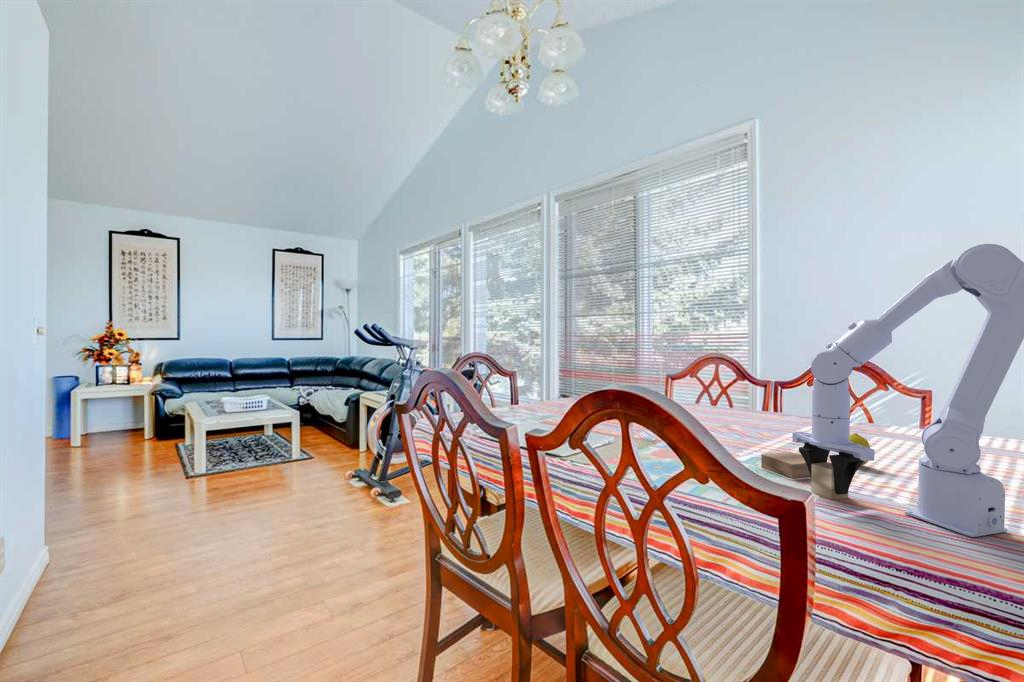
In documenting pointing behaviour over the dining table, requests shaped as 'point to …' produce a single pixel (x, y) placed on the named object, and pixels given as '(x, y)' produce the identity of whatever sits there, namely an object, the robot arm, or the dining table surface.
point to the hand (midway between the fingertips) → (829, 489)
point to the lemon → (859, 442)
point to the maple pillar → (824, 481)
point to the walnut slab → (785, 464)
